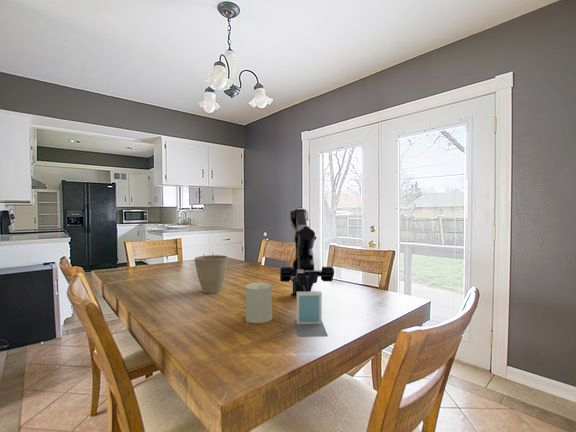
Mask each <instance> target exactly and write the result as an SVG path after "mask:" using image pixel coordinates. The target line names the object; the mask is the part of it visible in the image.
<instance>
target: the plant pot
mask: <svg viewBox="0 0 576 432" xmlns="http://www.w3.org/2000/svg"><path fill="white" fill-rule="evenodd" d="M228 259H229V256H227V255H222V254H221V255H219V254H214V255H213V254H211V255H201V256H196V257H194V263H195V269H196V273H197V274H196V275H197V277H198V281H199V285H200V287H201V290H202V292H203V293H204V294H209V295H210V294H218V293H219V292H221V290H222V286H223V283H224V280H225V277H226V273H227V272H226V271H227V267H228V261H229V260H228Z"/></svg>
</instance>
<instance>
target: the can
mask: <svg viewBox="0 0 576 432" xmlns="http://www.w3.org/2000/svg"><path fill="white" fill-rule="evenodd" d="M271 320H273V285H272V284H271V283H268V282H251V283H248V284H246V285H245V322H246V323H253V324H263V323H268V322H270V321H271Z"/></svg>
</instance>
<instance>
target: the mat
mask: <svg viewBox="0 0 576 432" xmlns="http://www.w3.org/2000/svg"><path fill="white" fill-rule="evenodd" d="M294 324H295V330H296V331H295V332H296V335H297V338H309V337H310V338H311V337H313V338H315V337H318V338H319V337H329V335H328V333H327V331H326V327H325V326H324V322H323V321H322V324H297V319H295V320H294Z"/></svg>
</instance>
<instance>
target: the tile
mask: <svg viewBox="0 0 576 432" xmlns="http://www.w3.org/2000/svg"><path fill="white" fill-rule="evenodd" d="M322 296H323V295H322V291H320V290H319V291H318V290H317V291H312V290H311V291H310V292H297V296H296V320H297V324H322V322H323V319H322V318H323V317H322V312H323V311H322V309H323V307H322Z"/></svg>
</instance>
